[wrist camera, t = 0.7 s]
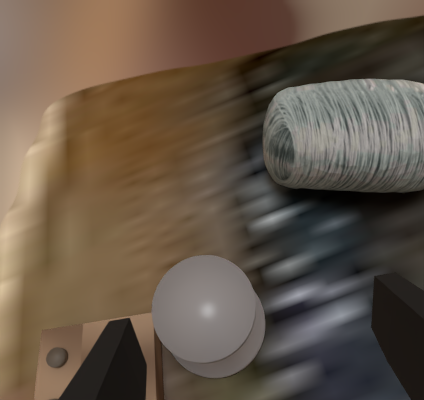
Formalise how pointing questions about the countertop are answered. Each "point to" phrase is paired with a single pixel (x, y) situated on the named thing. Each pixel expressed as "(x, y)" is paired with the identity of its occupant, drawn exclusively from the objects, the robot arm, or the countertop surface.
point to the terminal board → (79, 349)
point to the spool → (347, 136)
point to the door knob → (209, 316)
